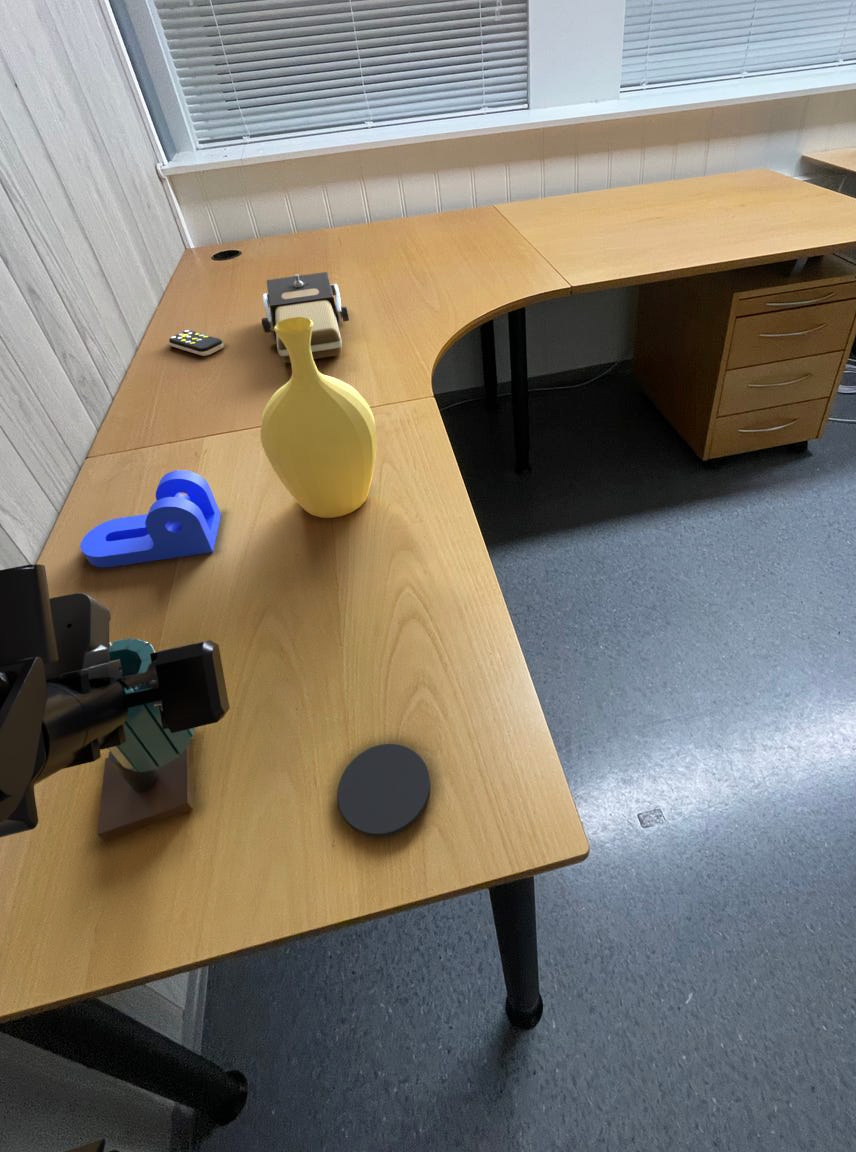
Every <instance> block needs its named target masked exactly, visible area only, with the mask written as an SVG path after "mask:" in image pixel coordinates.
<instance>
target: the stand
mask: <svg viewBox="0 0 856 1152" xmlns="http://www.w3.org/2000/svg"><path fill="white" fill-rule="evenodd" d="M193 743H194V742H193V739H192V741H191V742H190V743H189V745H188V746H187V747H186V749H185V750H184V751H183V753H182V754H181V755H180V754H178V757H177V758H176V759H174V760H173V761H171V762H169V763H168V764H166V765H165V766H163V767H160V766H159V768H158V769H156V770H151V771H145V772H139V771H138V772H135V771H132V770H130V769H127V768H125V767H123V766H122V765H121V764H120V763H119V762H118V760H117V759H116V758H115V757H114V755H113V754H112V753H111V752H110V751H109V752H108V757H106V758H105V760H104V769H103V776H102V786H101V796H100V806H99V816H98V825H97V832H96V833H97V834H96V835H97V836H98V837H99V838H100V839H101V840H102V841H103V842H106V841H110V840H112V839H115V838H118V837H122V836H123V835H126V834H130V833H133V832H135V831H137V830H140V829H141V830H142V829H144V828H146V827H149V826H153V825H155V824H158V823H160V822H164V821H166V820H169V819H172V818H175V817H178V816H180V815H184V814H187V813H190V812H192V811H194V766H193V765H194V758H193V757H194V756H193V753H194V752H193V751H194V750H193V748H194V747H193Z"/></svg>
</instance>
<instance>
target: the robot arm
mask: <svg viewBox="0 0 856 1152" xmlns="http://www.w3.org/2000/svg"><path fill="white" fill-rule="evenodd" d="M49 592H50V591H49V584H48V579H47V571H46V566H45V565H44V564H40V563H39V564H37V563H35V564H34V563H33V564H32V563H31V564H25V565H21V566H15V567H9V568H5V569H0V839H1V838H5V837H8V836H12V835H16V834H20V833H24V832H27V831H28V832H29V831H32V830H34V829H35V828H37V826H38V824H39V814H38V809H37V802H36V795H35V786H36V785H37V784H39V783H41V782H42V781H44V780H46V779H47V778H49V777H52V776H53V775H54V774H56V773H59V772H60V771H61V770H65V769H69V768H72V767H77V766H82V765H85V764H90V763H94V762H95V761H97V760H99V759H100V758H102V755H101V750H102V751H103V750H106V749H108V748H110V747H115V746H119V745H121V744H123V743H125V742H126V737H125V731H124V725H123V724H124V723H125V721H126V719H127V715H128V708H131V707H135V706H139V705H144V704H148V703H152V702H153V705H154V706H158V705H159V710H160V716H161V722H162V728H163V729H169V730H170V732H171V733H175V732H179V731H183V730H187V729H191V728H195V729H196V728H200V727H204V726H207V725H212V724H216V723H219V722H220V721H221V720H222V719H223V718H224V717H225V716H226V715H227V714H228V711H229V710H230V707H231V706H230V703H229V696H228V691H227V685H226V679H225V673H224V668H223V663H222V661H223V660H222V656H221V649H220V645H219V644H217V643H216V642H215V641H213V640H211V639H207V640H202V641H198V642H193V643H188V644H184V645H180V646H179V645H178V646H174V647H171V648H166V649H162V650H159V651H155V653H151V654H150V656H151V662H152V663H151V664H150V665H149V666H148V668H147V671H146V672H144V673H139V674H135V675H130V676H126V677H122V669H121V663H120V659H119V660H114V661H110V657H109V643H110V622H111V619H112V615H111V614H112V613H111V611H110V609H109V608H108V607H107V606H106V605H104V604H102V603H101V602H99V601H97V600H96V599H94V598H93V597H91V596H89V595H88V594H87V593H83V592H76V593H70V594H65V595H60V596H55V597H50V593H49ZM120 677H121V678H120ZM116 678H117V679H116ZM147 683H148V685H150V687H151V688H147V689H143V690H139V691H134V692H130V693H126V692H125V688H126V690H129V689H130V686H131V688H132V689H134V688H135V687H136V686H137V687H138V688H139V687H141V684H142V685H143V686H146V684H147ZM105 1146H106V1139H105V1138H101V1139H99V1140H95V1141H93V1142H89V1143H87V1144H84V1145H80V1146H77V1147H75V1148H72V1149H69V1150H66V1151H64V1152H104V1151H105ZM108 1152H120V1150H117V1149H113V1150H110V1151H108Z"/></svg>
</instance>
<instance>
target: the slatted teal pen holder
mask: <svg viewBox="0 0 856 1152" xmlns="http://www.w3.org/2000/svg"><path fill="white" fill-rule="evenodd" d="M155 652H156V650H155V648H154V647H153V644H151V643H150V642H149V641H145V640H142V639H139V638H133V637H130V638H123V639H117V640H112V642H109V657H110V661H114V660H119V659H120V663H121V669H122V677H126V676H130V675H135V674H139V673H144V672H146V671H147V668H148V666H149V665H150V664H151V663H152V662H151V656H150V654H151V653H155ZM120 678H121V677H120ZM116 679H117V678H116ZM147 688H151V687H150V685H148V683H147V684H146V686H143V685H142V684H141V687H139V688H138V687H137V686H136V687H135V688H134V689H132V688H131V686H130V689H129V690H126V688H125V692H126V693H130V692H134V691H139V690H143V689H147ZM123 725H124V731H125V737H126V742H125V743H123V744H121V745H119V746H115V747H110V748H107V749H108V751H109V752H111V753H112V754H113V755H114V757H115V758H116V759H117V760H118V762H119V763H120V764H121V765H122V766H123V767H125V768H127V769H130V770H132V771H135V772H138V771H139V772H145V771H151V770H156V769H158V768H159V766H160V767H163V766H165V765H166V764H168V763H169V762H171V761H173V760H174V759H176V758H177V757H178V754H180V755H181V754H182V753H183V751H184V750H185V749H186V747H187V746H188V745H189V743H190V742H191V741H192V740H193V738H194V737H195V736H194V735H195V731H196V728H191V729H187V730H183V731H179V732H175V733H171V732H170V730H169V729H163V728H162V722H161V716H160V710H159V705H158V706H154V705H153V702H152V703H148V704H144V705H139V706H135V707H131V708H128V715H127V719H126V721H125V723H124V724H123Z"/></svg>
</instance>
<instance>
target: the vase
mask: <svg viewBox="0 0 856 1152" xmlns="http://www.w3.org/2000/svg"><path fill="white" fill-rule="evenodd" d="M312 329H313V322H312V321H311V320H310V319H307V318H303V317H294V318H289V319H285V320H282V321H280V322H279V323H277V324H276V326H275V327H274V330H275V331H274V333H275V334H276V333H277V335H278V336H279V338H280V339H281V340H282V342H283V343H284V345H285V346H286V348H287V350H288V353H289V356H290V360H291V363H290V366H291V376H290V379H289V380H288V381H287V382H286V383H285V384H283V385H282V386H281V387H280V388H278V389H277V390H276V391H275V392H274V394H273V395H271V397H270V399H269V400H268V402H267V404H266V405H265V407H264V409H263V412H262V416H261V423H260V440H261V445H262V449H263V453H264V454H265V456H266V458H267V460H268V462H269V463H270V465H271V467H272V468H273V471H274V472H275V474H276V476H277V478H278V479H279V480H280V482H281V483H282V485H283V486H284V487H285V489H286V490H287V491H288V492H289V494H290V495H291V496H292V497H293V499H294V500H295V501H296V503H298V504H299V505H300V506H301V508H302V509H303V511H305V512H306V513H308V514H310V515H311V516H313V517H318V518H322V519H323V518H325V519H332V518H338V517H343V516H345V515H348V514H351V513H353V512H355V511H356V510H357V509H359V508H361V506H363V504H364V503H365V502H366V501H367V499H368V496H369V493H370V489H371V485H372V481H373V476H374V471H375V466H376V460H377V450H378V447H377V446H378V437H377V428H376V422H375V418H374V414H373V412H372V411H373V410H372V409H371V406H370V405H369V404H368V402H367V401H366V399H365V398H364V397H363V396H362V395H361V394H360V393H359V392H358V391H357V389H356V388H354V387H353V386H351V384H348V383H346V382H344V381H343V380H341V379H338V378H336V377H333V376H330V375H325V374H324V373H321V372H320V371H319V370H318V368H317V365H316V362H315V359H313V356H312V352H311V344H310V343H311V336H312Z"/></svg>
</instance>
